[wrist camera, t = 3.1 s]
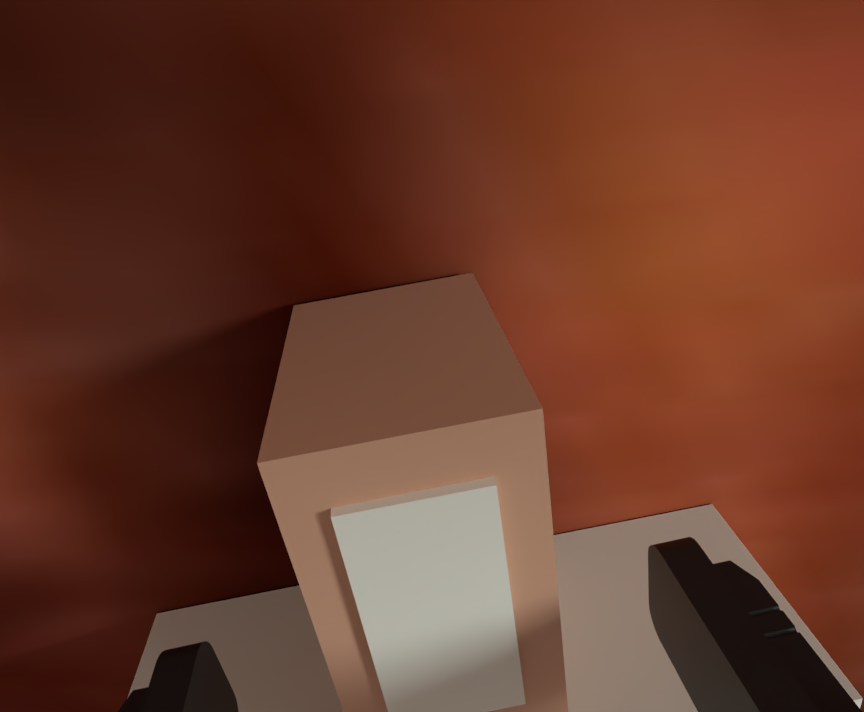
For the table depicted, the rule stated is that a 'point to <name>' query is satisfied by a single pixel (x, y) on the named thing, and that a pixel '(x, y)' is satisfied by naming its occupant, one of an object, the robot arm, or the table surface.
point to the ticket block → (579, 613)
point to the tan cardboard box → (417, 502)
